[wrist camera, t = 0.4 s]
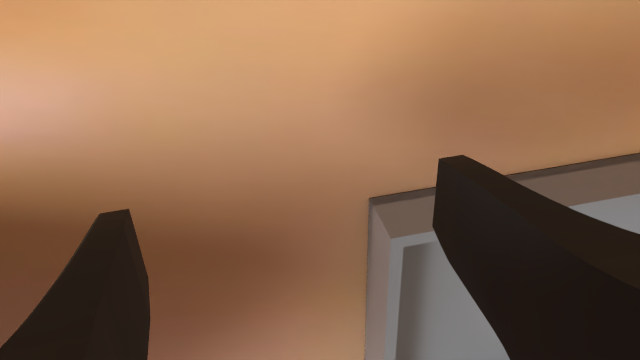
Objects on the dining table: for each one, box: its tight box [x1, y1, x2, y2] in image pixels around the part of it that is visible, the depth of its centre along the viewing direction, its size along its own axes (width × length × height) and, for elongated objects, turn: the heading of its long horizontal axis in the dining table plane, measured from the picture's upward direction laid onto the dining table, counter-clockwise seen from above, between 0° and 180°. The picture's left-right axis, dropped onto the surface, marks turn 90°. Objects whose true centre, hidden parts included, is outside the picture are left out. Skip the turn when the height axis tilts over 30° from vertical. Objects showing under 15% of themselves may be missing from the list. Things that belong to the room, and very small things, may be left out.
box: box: [365, 153, 640, 360], centre depth 31 cm, size 16×22×3 cm
